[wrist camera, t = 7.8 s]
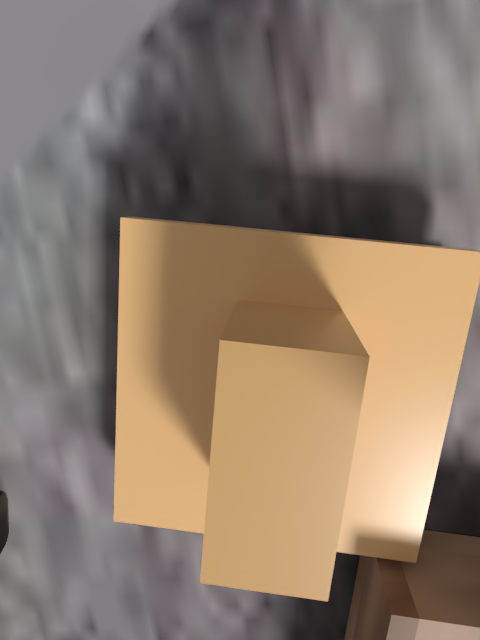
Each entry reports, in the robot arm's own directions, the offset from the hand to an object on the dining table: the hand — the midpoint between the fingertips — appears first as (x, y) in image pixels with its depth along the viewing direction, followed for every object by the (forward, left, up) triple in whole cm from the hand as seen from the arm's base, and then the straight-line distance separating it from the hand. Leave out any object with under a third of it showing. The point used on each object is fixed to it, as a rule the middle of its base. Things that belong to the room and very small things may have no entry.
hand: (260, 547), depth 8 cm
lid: (0, 0, -8) cm, 8 cm away
